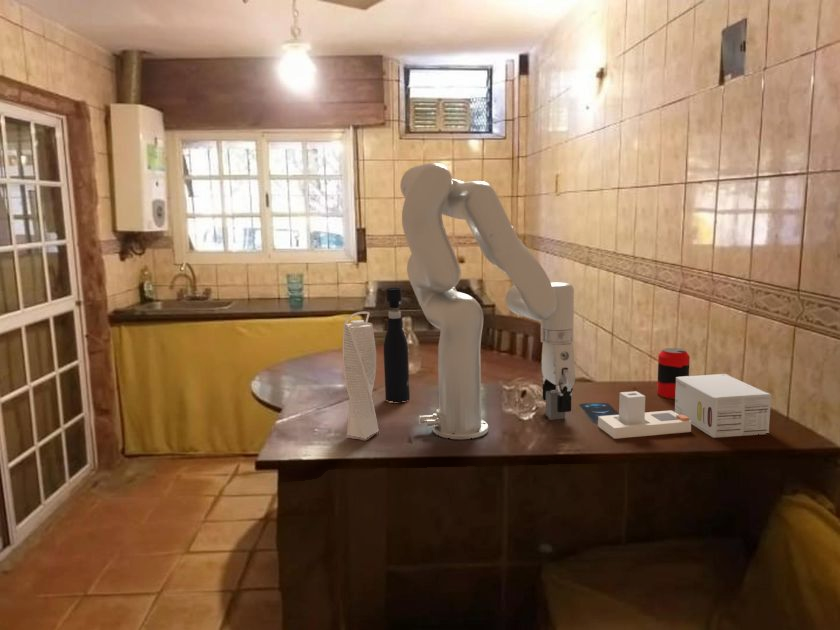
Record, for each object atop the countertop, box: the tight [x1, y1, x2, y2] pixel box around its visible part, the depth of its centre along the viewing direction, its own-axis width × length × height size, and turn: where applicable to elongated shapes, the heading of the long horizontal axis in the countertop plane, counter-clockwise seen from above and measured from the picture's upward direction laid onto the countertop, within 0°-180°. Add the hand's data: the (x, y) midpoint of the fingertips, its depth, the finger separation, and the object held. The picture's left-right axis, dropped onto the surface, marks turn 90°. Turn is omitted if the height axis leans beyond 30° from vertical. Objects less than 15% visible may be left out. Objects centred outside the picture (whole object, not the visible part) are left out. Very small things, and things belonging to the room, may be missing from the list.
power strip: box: [597, 410, 692, 440], centre depth 143 cm, size 18×8×3 cm, turn 99°
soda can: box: [656, 347, 691, 399], centre depth 167 cm, size 8×8×12 cm
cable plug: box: [545, 389, 566, 420], centre depth 153 cm, size 4×4×7 cm
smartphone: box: [578, 402, 619, 424], centre depth 155 cm, size 8×1×15 cm
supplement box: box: [674, 373, 772, 439], centre depth 145 cm, size 17×13×9 cm
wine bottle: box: [383, 287, 411, 402], centre depth 168 cm, size 6×6×30 cm
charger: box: [618, 390, 646, 425], centre depth 142 cm, size 4×4×8 cm
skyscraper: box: [341, 311, 380, 439], centre depth 142 cm, size 8×8×28 cm
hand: (556, 405), depth 153 cm, fingers open, 9 cm apart
